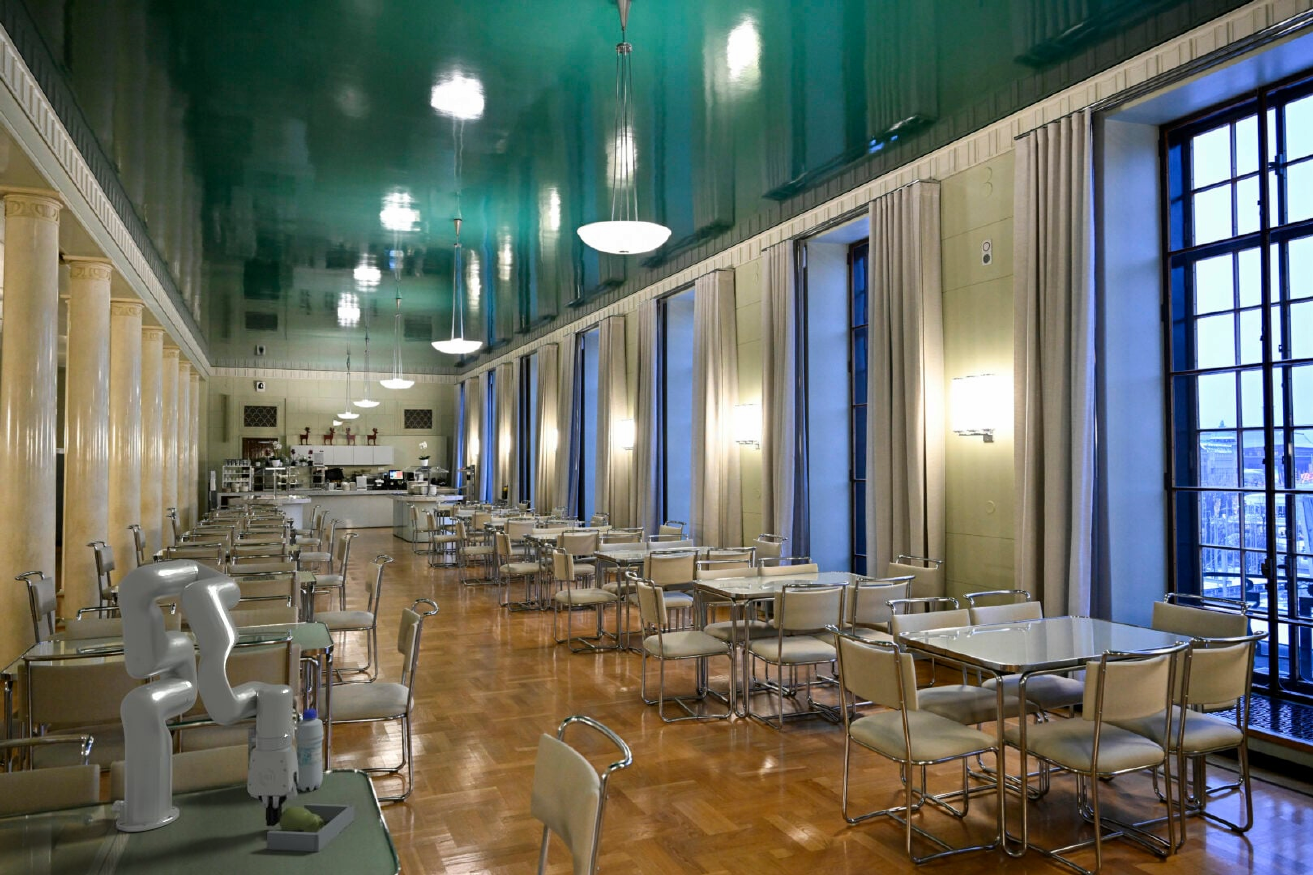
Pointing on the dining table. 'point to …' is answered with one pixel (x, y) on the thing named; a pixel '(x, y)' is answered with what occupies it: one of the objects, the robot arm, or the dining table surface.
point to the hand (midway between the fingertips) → (273, 823)
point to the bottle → (309, 750)
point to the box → (314, 841)
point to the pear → (300, 820)
